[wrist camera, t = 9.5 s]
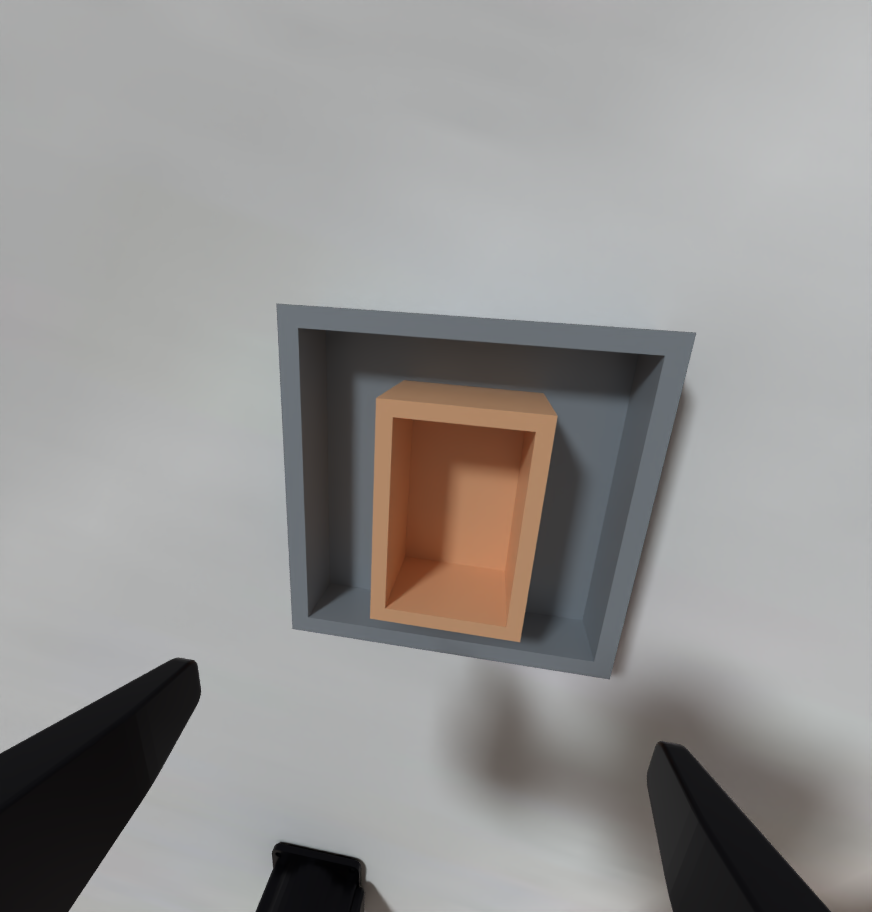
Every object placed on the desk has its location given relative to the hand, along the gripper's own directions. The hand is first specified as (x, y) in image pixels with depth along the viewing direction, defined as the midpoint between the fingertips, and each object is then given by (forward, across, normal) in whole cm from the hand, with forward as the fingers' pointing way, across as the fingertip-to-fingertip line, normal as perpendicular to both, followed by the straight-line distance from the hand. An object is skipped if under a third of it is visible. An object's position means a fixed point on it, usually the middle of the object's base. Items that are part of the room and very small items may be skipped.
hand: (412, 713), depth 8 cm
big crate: (+13, 0, 0) cm, 13 cm away
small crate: (+12, 0, 0) cm, 12 cm away
